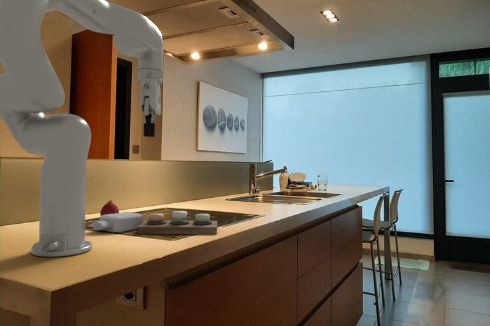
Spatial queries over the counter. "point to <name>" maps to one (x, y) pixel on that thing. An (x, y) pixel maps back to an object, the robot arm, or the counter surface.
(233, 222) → the counter surface
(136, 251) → the counter surface
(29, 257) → the counter surface
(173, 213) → the grey button
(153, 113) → the robot arm
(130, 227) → the white bottle
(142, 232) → the button board
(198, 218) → the sage button
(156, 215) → the terracotta button
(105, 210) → the onion
